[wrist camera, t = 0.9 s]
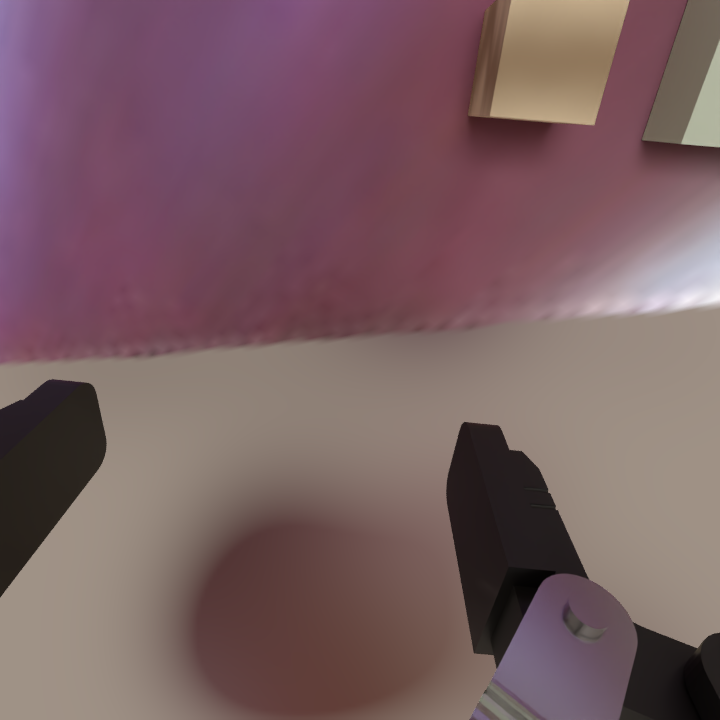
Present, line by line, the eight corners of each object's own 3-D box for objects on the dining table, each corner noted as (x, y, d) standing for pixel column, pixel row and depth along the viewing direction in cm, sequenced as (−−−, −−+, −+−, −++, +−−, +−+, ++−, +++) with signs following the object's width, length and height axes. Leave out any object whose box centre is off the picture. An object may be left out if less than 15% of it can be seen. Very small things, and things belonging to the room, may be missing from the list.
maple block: (485, 10, 25) (514, -18, 19) (577, 18, 25) (631, -8, 19) (467, 116, 27) (489, 116, 22) (551, 123, 27) (594, 125, 22)
